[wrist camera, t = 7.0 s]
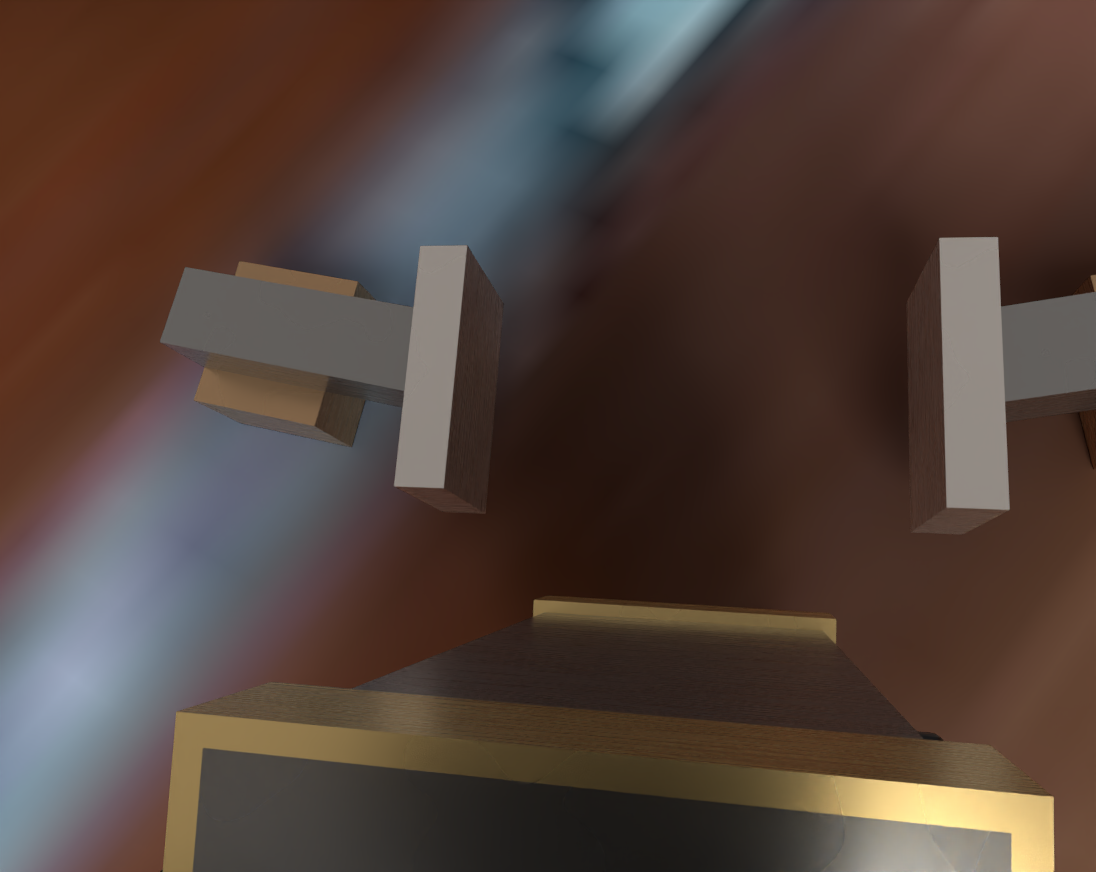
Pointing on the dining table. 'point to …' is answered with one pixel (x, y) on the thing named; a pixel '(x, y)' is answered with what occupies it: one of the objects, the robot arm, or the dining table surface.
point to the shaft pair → (473, 355)
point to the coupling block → (598, 760)
